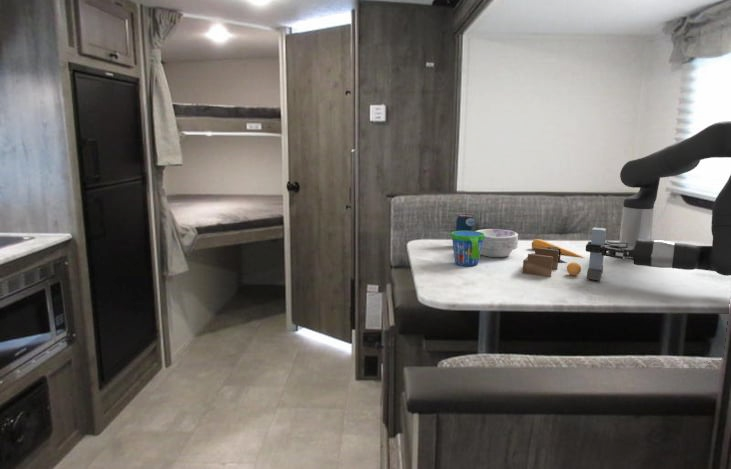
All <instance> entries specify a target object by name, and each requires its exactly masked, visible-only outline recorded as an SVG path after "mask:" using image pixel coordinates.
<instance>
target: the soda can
mask: <svg viewBox="0 0 731 469" xmlns="http://www.w3.org/2000/svg"><path fill="white" fill-rule="evenodd" d="M455 231H476V218H475V215H474V214H468V213H460V214H458V215H457V218H456V224H455Z"/></svg>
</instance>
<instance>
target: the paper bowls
mask: <svg viewBox="0 0 731 469" xmlns="http://www.w3.org/2000/svg"><path fill="white" fill-rule="evenodd" d="M476 231H477V232H482V233H484V235H485V238H484V240H483V242H482V248H481V253H480V255H482V256H485V257H490V258H505V257H508V256H510V255H511V253H512V251H513V250H516V249H517V248H518V244H519V233H517V231H516V232H515V231H513V230H508V229H498V228H485V229H478V230H476Z"/></svg>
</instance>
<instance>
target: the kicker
mask: <svg viewBox="0 0 731 469" xmlns="http://www.w3.org/2000/svg"><path fill="white" fill-rule="evenodd" d="M606 236H607V228H606V227H605V228H604V227H592V230H591V240H590V242H591V244H594V245H605V241H606ZM604 258H605V256H602V255H601V254H600V253H595V252H589V258H588V259H589V260H588V261H589V262H588V269H587V270H586V272H587V273H586V279H588V280H595V281H600V279H601V277H602V276H603V273H604Z"/></svg>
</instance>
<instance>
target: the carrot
mask: <svg viewBox="0 0 731 469" xmlns="http://www.w3.org/2000/svg"><path fill="white" fill-rule="evenodd" d="M536 247H537V248H545V249H547V248H548V247H557V248H559V249H561V251H560V252H561V255H563V256H566V257H567V256H568V257H573V258H574V257H575V258H581V259H583V258H584V259H585V257H583V256H582V255H579V254H577V253H575V252H573V251H570V250H568V249H566V248H563V247H561V246H558V245H555V244H552V243H550V242H547V241H545V240H543V239H540V238H539V239H538V238H537V239H536V238H535V239H534V240H533V241H532V242H531V248H532V250H533V251H535V248H536Z"/></svg>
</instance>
